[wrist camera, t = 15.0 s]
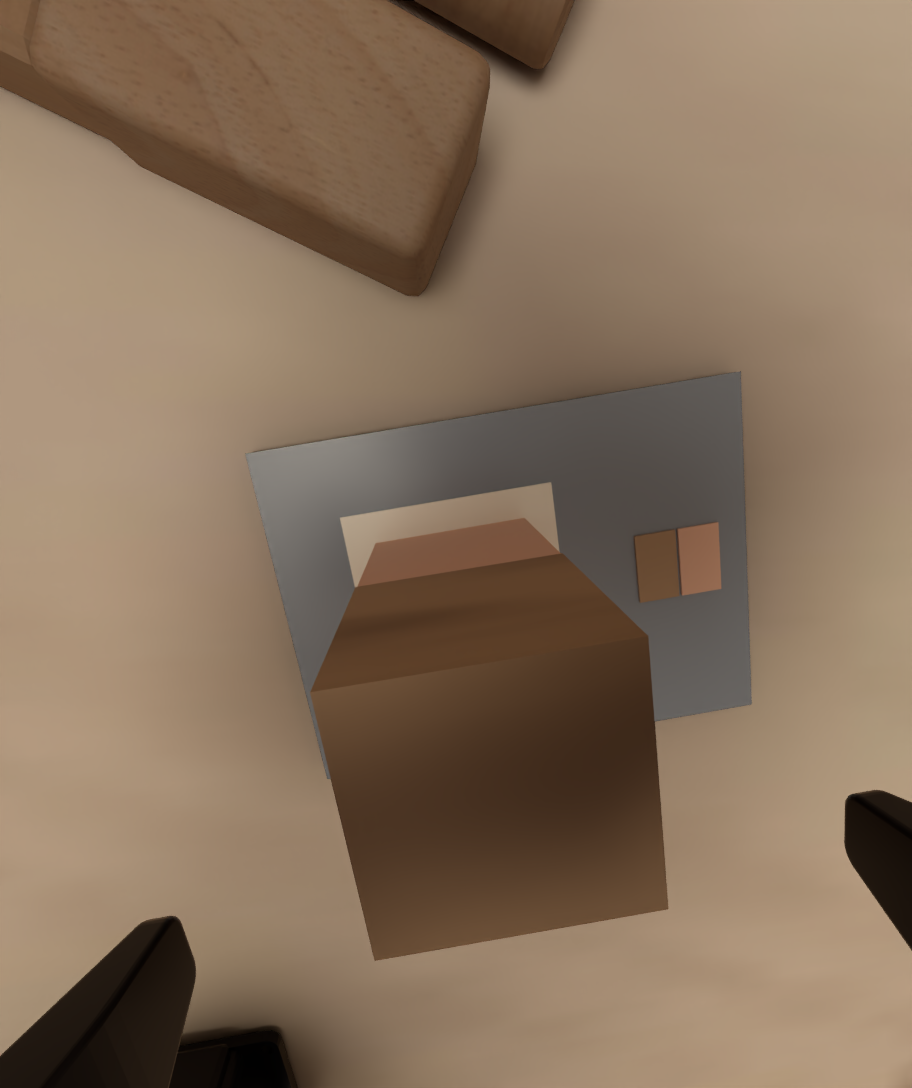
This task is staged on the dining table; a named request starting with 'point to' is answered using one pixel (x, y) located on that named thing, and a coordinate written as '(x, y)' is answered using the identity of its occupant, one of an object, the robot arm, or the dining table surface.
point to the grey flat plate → (542, 518)
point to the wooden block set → (287, 106)
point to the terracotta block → (455, 551)
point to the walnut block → (492, 755)
